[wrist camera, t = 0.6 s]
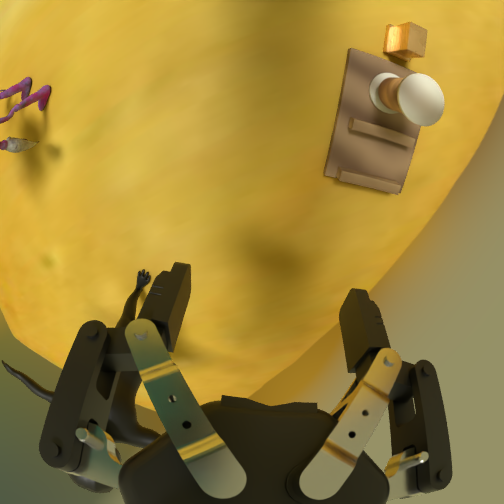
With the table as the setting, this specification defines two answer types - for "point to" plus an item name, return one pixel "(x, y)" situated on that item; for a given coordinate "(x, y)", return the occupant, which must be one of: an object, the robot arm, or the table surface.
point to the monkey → (123, 404)
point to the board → (380, 121)
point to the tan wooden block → (405, 41)
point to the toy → (24, 86)
